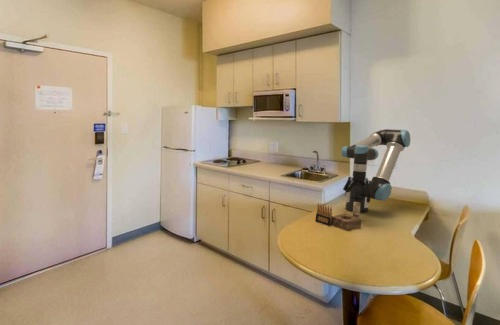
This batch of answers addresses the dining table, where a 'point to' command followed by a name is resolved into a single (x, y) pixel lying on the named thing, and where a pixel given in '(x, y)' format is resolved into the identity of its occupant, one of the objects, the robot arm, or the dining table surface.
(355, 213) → the peg
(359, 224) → the socket block
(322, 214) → the ammunition clip
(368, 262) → the dining table surface
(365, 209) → the robot arm
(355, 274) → the dining table surface
